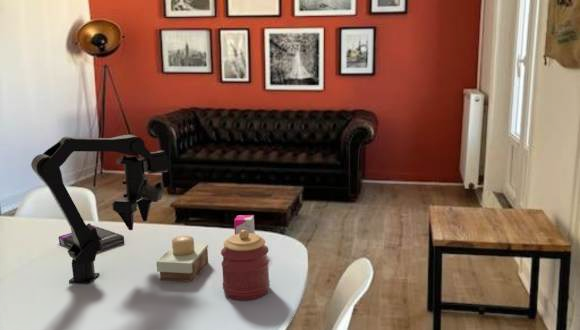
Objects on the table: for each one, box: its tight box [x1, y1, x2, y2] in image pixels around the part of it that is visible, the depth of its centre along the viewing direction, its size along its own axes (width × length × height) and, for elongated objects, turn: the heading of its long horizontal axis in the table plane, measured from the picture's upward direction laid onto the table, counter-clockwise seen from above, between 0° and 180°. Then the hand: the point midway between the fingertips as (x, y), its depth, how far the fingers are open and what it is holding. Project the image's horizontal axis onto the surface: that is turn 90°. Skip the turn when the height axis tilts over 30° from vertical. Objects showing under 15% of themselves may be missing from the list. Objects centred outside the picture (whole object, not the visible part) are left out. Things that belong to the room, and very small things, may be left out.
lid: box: [156, 243, 209, 273], centre depth 165 cm, size 16×10×3 cm
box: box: [57, 225, 125, 252], centre depth 192 cm, size 14×4×20 cm
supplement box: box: [233, 214, 256, 235], centre depth 181 cm, size 6×6×12 cm
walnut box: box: [159, 248, 209, 282], centre depth 166 cm, size 14×10×5 cm
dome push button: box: [171, 235, 195, 256], centre depth 164 cm, size 6×6×4 cm
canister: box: [220, 230, 271, 301], centre depth 150 cm, size 13×13×18 cm
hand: (138, 225), depth 170 cm, fingers open, 9 cm apart
